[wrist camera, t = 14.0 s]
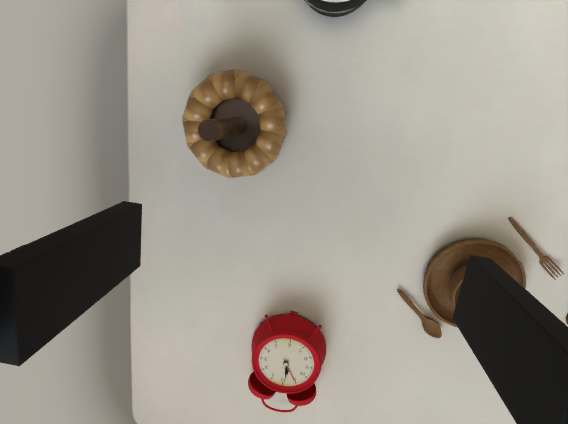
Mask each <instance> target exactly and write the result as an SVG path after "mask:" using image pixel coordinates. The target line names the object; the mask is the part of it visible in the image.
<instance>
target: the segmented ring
mask: <svg viewBox="0 0 568 424" xmlns="http://www.w3.org/2000/svg"><path fill="white" fill-rule="evenodd" d="M233 98H238V99H241V100H243V101H245V102H248V103H250V105H251V106H252V107H253V108H254V110H255V111H256V112H257V114H258V116H259V123H260V132H259V134H258V137H257V140H256V142H255V143H254V144H253V145H252V146H250V147H249V148H248V149H247V150H245V151H238V152H231V151H229V150H226V149H224V148H222V147H220V146H219V145H218V144H217V142H216V141H212V142H206V141H204V140H202V139H201V138H200V136H199V134H198V126H199V124H200V123H201V122H202V121H203V120H206V119H210V118H211V115H212V112H213V109H214V108H215V107H216V106H217V105H218V104H220V103H221V102H222V101H223V100H226V99H233ZM182 121H183V127H184V132H185V137H186V142H187V146H188V147H189V149H190V150H191V151H192V153H193V154H194V155H195V156H196V158H197V159H198V160H199V161H200V163H201V164H202V165H203V166H204V167H205V168H207V169H209V170H211V171H214V172H216V173H218V174H221V175H223V176H226V177H229V178H234V177H242V176H251V175H255V174H257V173H259V172H260V171H261V170H263V169H264V168H265V167H266V166H268V165H269V164H270V163H272V162H273V161H274V160H275V159H276V158H277V156H278V154H279V152H280V149H281V147H282V144H283V142H284V139H285V137H286V134H287V128H286V120H285V112H284V106H283V103H282V102H281V100H280V99H279V97H278V96H277V95H276V93H275V92H274V91H273V89H272V88H271V87H270V85H269V84H268V83H267V82H266V81H265V80H263V79H261V78H259V77H257V76H254V75H252V74H250V73H247V72H245V71H242V70H231V71H224V72H218V73H213V74H211V75H209V76H208V77H207V78H206V79H205V80H203V81H202V82H201V83H200V84H199V85H198V86H197V87H196V88H194V89H193V90H192V92H191V93H190V95H189V98H188V101H187V105H186V108H185V111H184V114H183V118H182Z"/></svg>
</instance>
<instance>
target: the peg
mask: <svg viewBox="0 0 568 424" xmlns="http://www.w3.org/2000/svg"><path fill="white" fill-rule="evenodd" d="M259 132H260V123H259V116H258V114H257V112H256V111H255V110H254V108H253V107H252V106H251V105H250V103H248V102H245V101H243V100H241V99H238V98H233V99H226V100H223V101H222V102H221V103H220V104H218V105H217V106H216V107H215V108H214V109H213V112H212V115H211V118H210V119H206V120H203V121H202V122H201V123H200V124H199V126H198V134H199V136H200V138H201V139H202V140H204V141H206V142H212V141H216V142H217V144H218V145H219V146H220V147H222V148H224V149H226V150H229V151H231V152H238V151H245V150H247V149H248V148H249V147H250V146H252V145H253V144H254V143H255V142H256V140H257V137H258V134H259Z"/></svg>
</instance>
